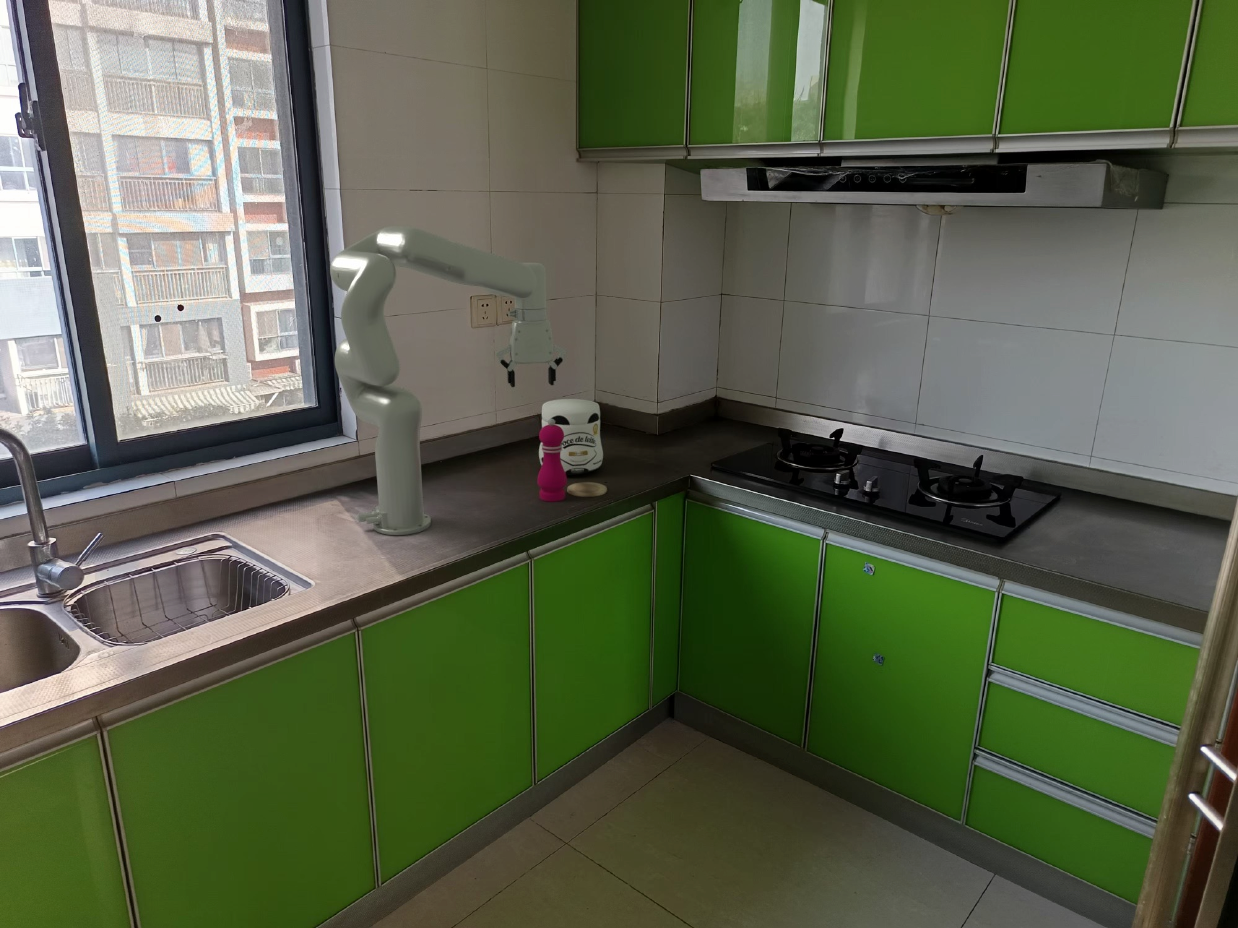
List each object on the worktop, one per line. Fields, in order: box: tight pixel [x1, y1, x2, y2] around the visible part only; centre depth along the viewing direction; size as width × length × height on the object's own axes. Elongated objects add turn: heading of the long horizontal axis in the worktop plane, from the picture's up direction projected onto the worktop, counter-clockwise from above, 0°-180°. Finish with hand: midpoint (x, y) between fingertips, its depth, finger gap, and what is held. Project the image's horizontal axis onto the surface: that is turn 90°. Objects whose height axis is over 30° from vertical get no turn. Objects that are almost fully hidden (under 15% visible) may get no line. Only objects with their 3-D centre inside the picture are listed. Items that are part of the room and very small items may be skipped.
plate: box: [566, 481, 608, 498], centre depth 224 cm, size 10×10×1 cm
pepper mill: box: [536, 419, 568, 503], centre depth 216 cm, size 7×7×20 cm
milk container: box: [538, 398, 604, 476], centre depth 239 cm, size 17×17×18 cm
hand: (531, 385), depth 219 cm, fingers open, 9 cm apart
